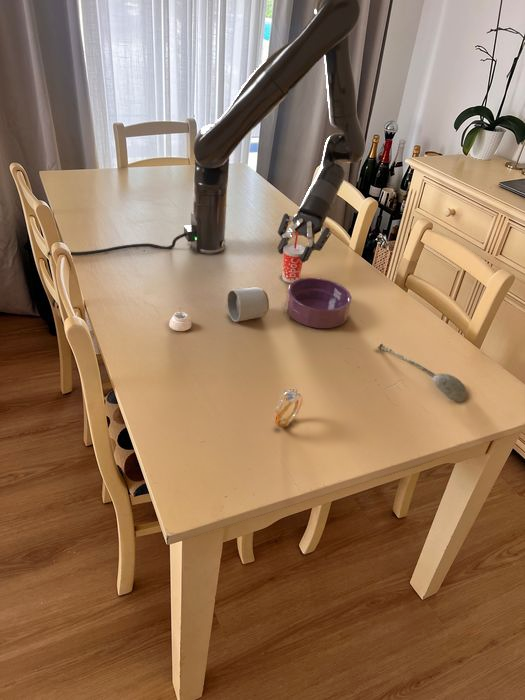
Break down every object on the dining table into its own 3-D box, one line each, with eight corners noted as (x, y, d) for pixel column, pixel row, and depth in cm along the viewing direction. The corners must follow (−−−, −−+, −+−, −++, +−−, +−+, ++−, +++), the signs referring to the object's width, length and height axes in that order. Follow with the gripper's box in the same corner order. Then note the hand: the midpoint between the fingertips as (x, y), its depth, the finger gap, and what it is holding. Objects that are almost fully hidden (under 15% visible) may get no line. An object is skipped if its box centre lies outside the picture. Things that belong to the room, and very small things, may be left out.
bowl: (302, 334, 120) (306, 314, 117) (275, 300, 131) (278, 281, 128) (358, 324, 126) (363, 305, 122) (328, 292, 137) (331, 274, 133)
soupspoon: (455, 409, 105) (470, 397, 109) (462, 397, 103) (476, 385, 107) (370, 353, 116) (386, 344, 120) (374, 341, 114) (391, 332, 118)
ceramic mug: (269, 321, 123) (272, 293, 118) (238, 328, 119) (240, 299, 115) (249, 300, 130) (252, 272, 126) (220, 305, 127) (221, 277, 122)
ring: (292, 411, 99) (297, 380, 94) (304, 420, 97) (310, 389, 93) (266, 428, 95) (271, 396, 90) (279, 438, 93) (284, 406, 88)
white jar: (195, 326, 118) (180, 317, 121) (196, 315, 117) (180, 307, 119) (179, 335, 115) (164, 325, 118) (179, 324, 113) (164, 315, 116)
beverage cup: (278, 282, 139) (284, 234, 130) (281, 271, 143) (287, 224, 135) (300, 286, 138) (308, 237, 130) (302, 275, 143) (310, 228, 135)
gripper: (291, 186, 136) (263, 242, 134) (340, 201, 130) (311, 260, 129) (298, 200, 143) (271, 254, 141) (345, 215, 137) (318, 271, 136)
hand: (291, 256), depth 135 cm, fingers closed on beverage cup, 6 cm apart
